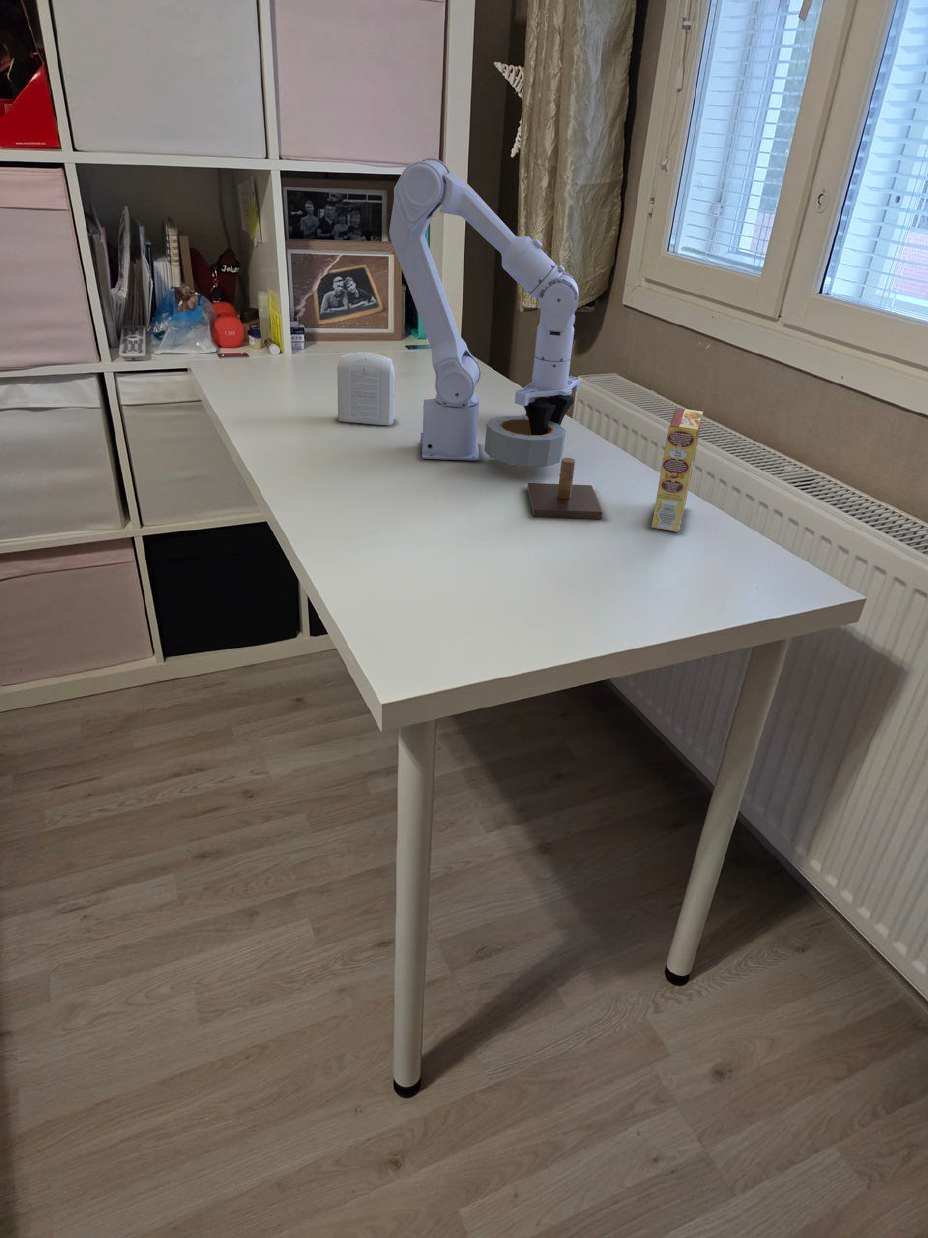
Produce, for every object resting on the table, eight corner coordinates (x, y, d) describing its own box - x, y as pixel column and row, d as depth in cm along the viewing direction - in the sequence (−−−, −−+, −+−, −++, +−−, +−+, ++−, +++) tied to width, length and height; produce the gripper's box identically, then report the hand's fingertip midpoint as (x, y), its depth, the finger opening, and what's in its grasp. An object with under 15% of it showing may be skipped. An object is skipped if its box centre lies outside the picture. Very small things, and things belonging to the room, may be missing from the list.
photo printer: (395, 419, 157) (396, 351, 150) (392, 427, 153) (393, 358, 147) (340, 415, 157) (338, 347, 151) (336, 423, 153) (334, 353, 147)
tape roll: (486, 464, 132) (488, 436, 130) (482, 438, 143) (484, 412, 141) (567, 469, 133) (571, 442, 131) (557, 443, 144) (560, 418, 142)
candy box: (679, 533, 121) (700, 429, 113) (649, 528, 122) (668, 424, 114) (684, 510, 128) (705, 410, 120) (656, 505, 129) (674, 406, 121)
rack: (533, 516, 123) (538, 471, 119) (527, 489, 132) (531, 446, 128) (601, 519, 124) (608, 474, 120) (590, 492, 132) (596, 449, 128)
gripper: (543, 370, 127) (534, 456, 134) (600, 355, 136) (588, 437, 143) (508, 359, 131) (500, 443, 138) (565, 346, 140) (555, 426, 147)
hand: (543, 439), depth 141 cm, fingers closed on tape roll, 2 cm apart
